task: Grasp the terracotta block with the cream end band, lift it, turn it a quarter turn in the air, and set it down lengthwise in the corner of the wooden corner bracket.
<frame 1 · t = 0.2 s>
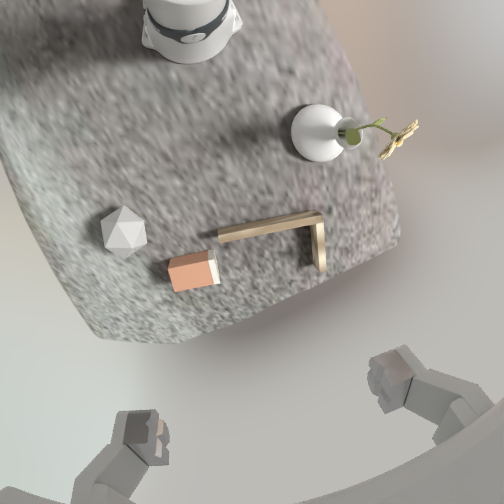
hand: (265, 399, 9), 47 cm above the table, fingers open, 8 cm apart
flower in vase: (320, 132, 52), on the table
die: (129, 225, 53), on the table
wooden corner bracket: (277, 252, 60), on the table
block: (194, 264, 58), on the table
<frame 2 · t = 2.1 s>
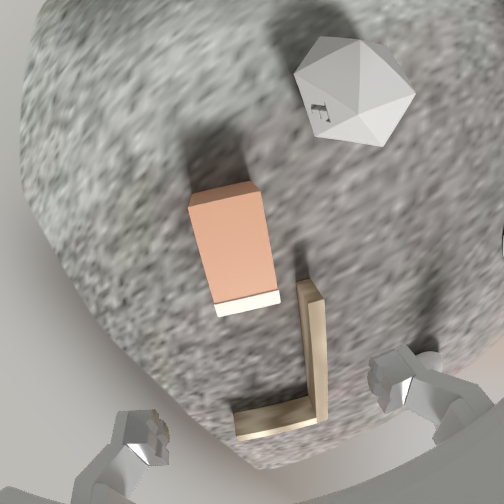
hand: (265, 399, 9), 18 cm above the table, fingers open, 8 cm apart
flower in vase: (407, 375, 38), on the table
die: (331, 94, 22), on the table
wooden corner bracket: (255, 372, 32), on the table
block: (232, 236, 26), on the table
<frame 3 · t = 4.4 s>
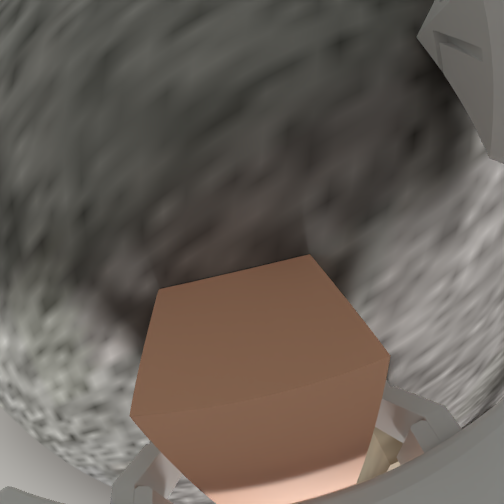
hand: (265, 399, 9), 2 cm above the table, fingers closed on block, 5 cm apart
die: (464, 65, 7), on the table
wooden corner bracket: (280, 493, 18), on the table
block: (258, 369, 11), on the table, touching gripper
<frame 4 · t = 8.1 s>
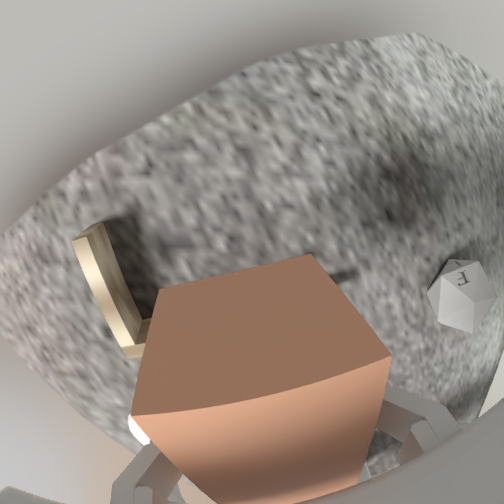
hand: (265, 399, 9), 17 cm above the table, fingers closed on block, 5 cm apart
flower in vase: (165, 419, 34), on the table
die: (441, 280, 31), on the table
wooden corner bracket: (195, 247, 25), on the table
block: (259, 369, 11), point 16 cm above the table, touching gripper
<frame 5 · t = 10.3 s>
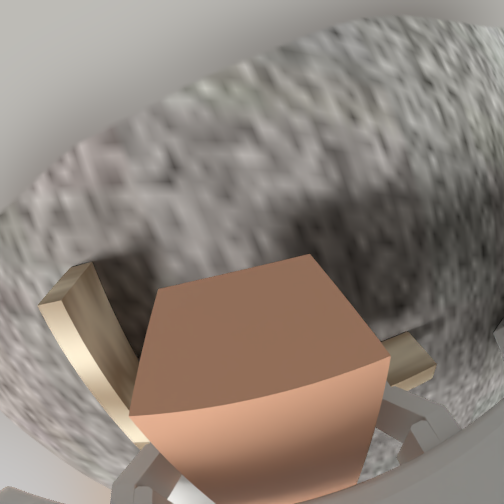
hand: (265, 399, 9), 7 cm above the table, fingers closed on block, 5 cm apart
flower in vase: (183, 482, 24), on the table
wooden corner bracket: (247, 305, 16), on the table
block: (258, 369, 11), point 5 cm above the table, touching gripper
when the fingers open (3 cm above the table, at t = 11.9 s): block drops 2 cm, on the table.
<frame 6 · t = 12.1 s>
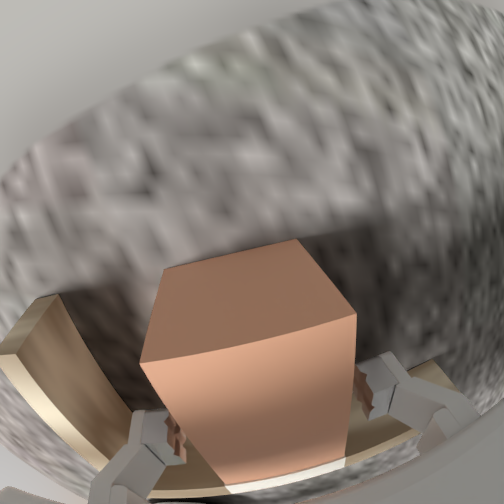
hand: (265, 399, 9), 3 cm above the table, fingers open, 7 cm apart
wooden corner bracket: (252, 346, 12), on the table
block: (252, 345, 12), on the table
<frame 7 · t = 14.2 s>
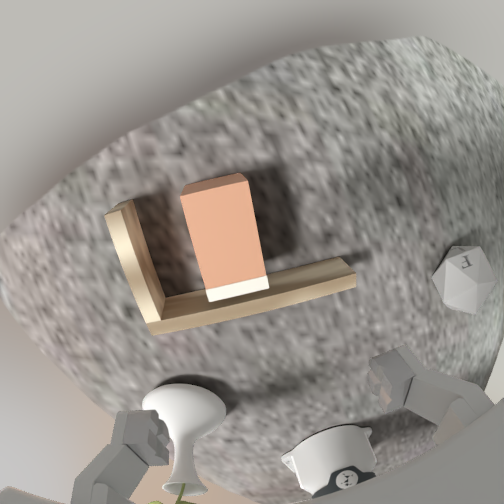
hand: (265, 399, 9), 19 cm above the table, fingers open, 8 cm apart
flower in vase: (179, 402, 35), on the table
die: (445, 265, 33), on the table
wooden corner bracket: (223, 225, 27), on the table
block: (223, 225, 27), on the table
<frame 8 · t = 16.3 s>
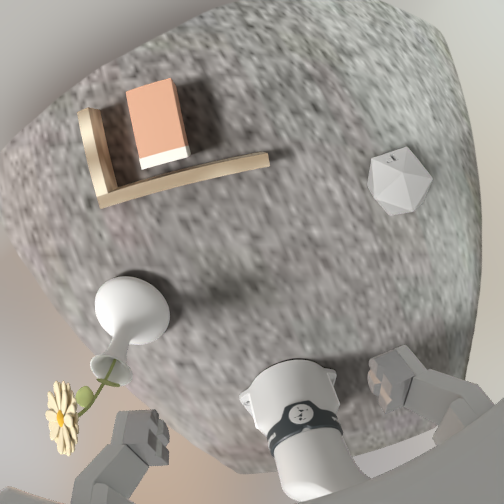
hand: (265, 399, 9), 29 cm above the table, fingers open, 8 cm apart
flower in vase: (129, 306, 40), on the table
die: (382, 176, 38), on the table
wooden corner bracket: (162, 124, 31), on the table
block: (163, 125, 31), on the table
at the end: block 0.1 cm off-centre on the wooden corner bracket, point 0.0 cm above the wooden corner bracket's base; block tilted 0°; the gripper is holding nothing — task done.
